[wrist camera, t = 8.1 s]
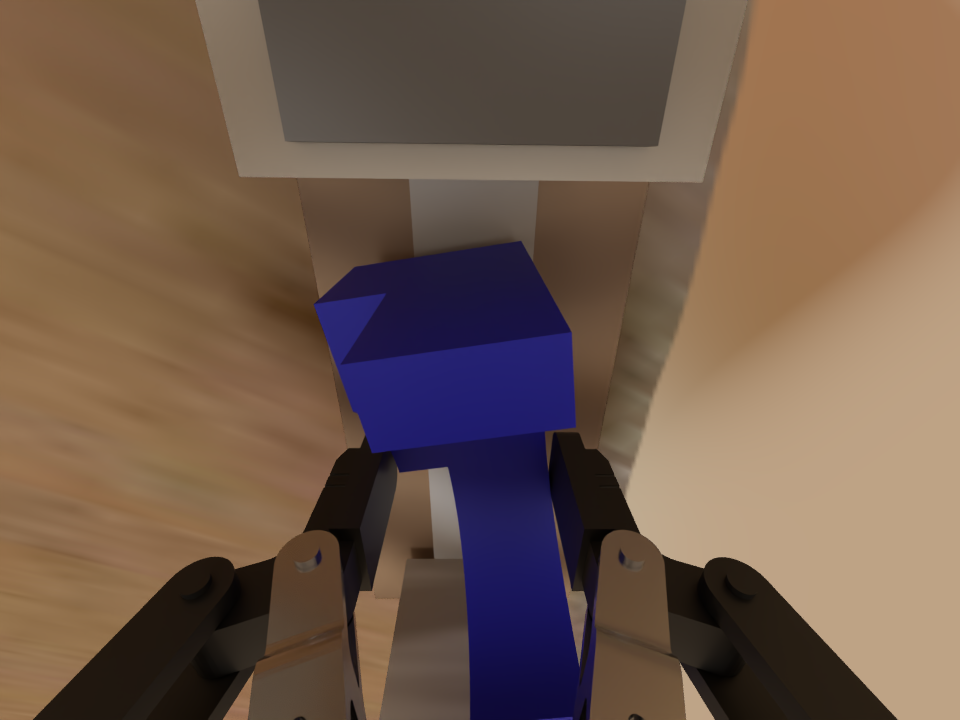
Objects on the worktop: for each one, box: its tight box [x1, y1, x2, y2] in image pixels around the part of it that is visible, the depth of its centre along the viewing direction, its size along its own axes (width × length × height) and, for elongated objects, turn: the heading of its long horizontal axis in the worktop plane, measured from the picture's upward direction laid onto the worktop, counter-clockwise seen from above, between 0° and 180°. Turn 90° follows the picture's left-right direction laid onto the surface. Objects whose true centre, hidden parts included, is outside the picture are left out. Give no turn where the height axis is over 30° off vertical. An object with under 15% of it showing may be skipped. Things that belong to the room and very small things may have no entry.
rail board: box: [195, 0, 748, 720], centre depth 12 cm, size 24×10×8 cm, turn 179°
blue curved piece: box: [314, 241, 579, 720], centre depth 10 cm, size 12×4×6 cm, turn 9°
